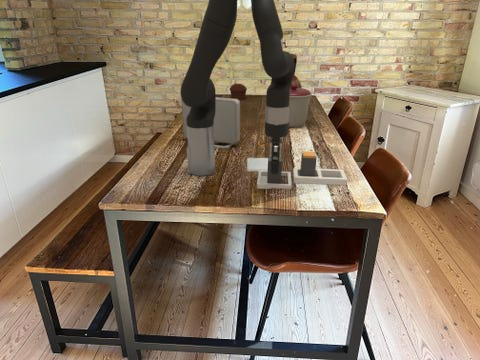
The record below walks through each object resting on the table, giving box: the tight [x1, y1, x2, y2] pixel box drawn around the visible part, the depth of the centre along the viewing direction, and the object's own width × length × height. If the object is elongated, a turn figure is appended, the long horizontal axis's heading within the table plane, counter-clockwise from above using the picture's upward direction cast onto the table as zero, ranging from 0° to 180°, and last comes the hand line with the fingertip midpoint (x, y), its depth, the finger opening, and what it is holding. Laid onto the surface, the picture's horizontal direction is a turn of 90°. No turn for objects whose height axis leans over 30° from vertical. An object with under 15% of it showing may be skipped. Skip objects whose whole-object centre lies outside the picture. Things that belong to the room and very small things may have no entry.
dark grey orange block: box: [300, 150, 317, 177], centre depth 118 cm, size 4×4×9 cm
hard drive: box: [246, 157, 268, 173], centre depth 132 cm, size 2×8×12 cm
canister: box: [289, 83, 313, 129], centre depth 178 cm, size 18×18×21 cm
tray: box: [256, 171, 292, 190], centre depth 118 cm, size 11×11×2 cm
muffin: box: [229, 83, 248, 102], centre depth 236 cm, size 12×11×10 cm
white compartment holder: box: [292, 167, 348, 186], centre depth 120 cm, size 17×8×3 cm, turn 84°
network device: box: [180, 96, 241, 149], centre depth 152 cm, size 26×9×20 cm, turn 68°
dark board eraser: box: [267, 153, 283, 184], centre depth 117 cm, size 4×4×9 cm
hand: (274, 169), depth 117 cm, fingers open, 7 cm apart
